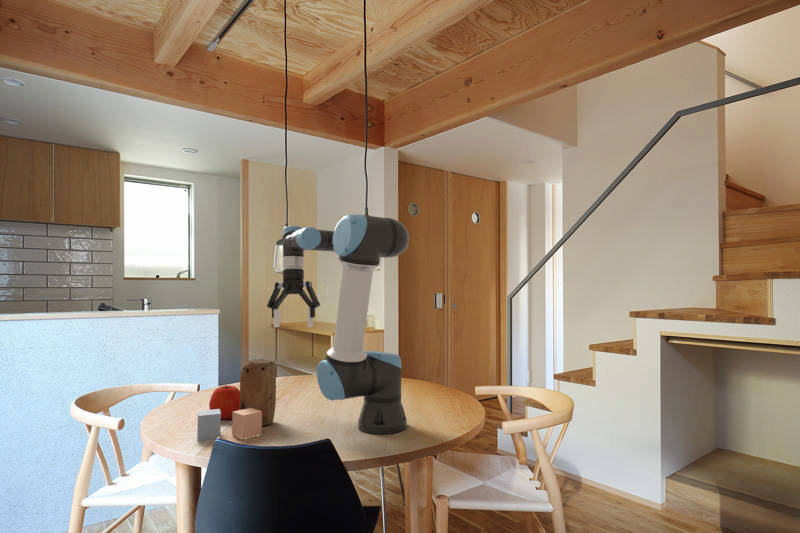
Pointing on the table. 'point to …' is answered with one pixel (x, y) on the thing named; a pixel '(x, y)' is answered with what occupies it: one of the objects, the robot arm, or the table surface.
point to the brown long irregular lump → (259, 388)
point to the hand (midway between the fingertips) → (293, 327)
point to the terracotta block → (246, 423)
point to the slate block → (208, 424)
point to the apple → (225, 401)
